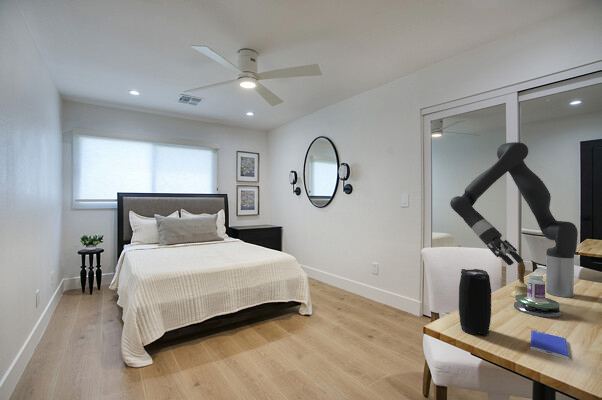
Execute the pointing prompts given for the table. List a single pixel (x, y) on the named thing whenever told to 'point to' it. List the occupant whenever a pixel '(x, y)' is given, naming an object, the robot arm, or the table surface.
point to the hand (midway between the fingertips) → (516, 263)
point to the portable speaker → (475, 301)
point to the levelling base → (538, 307)
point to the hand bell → (520, 282)
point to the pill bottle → (536, 287)
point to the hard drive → (549, 344)
